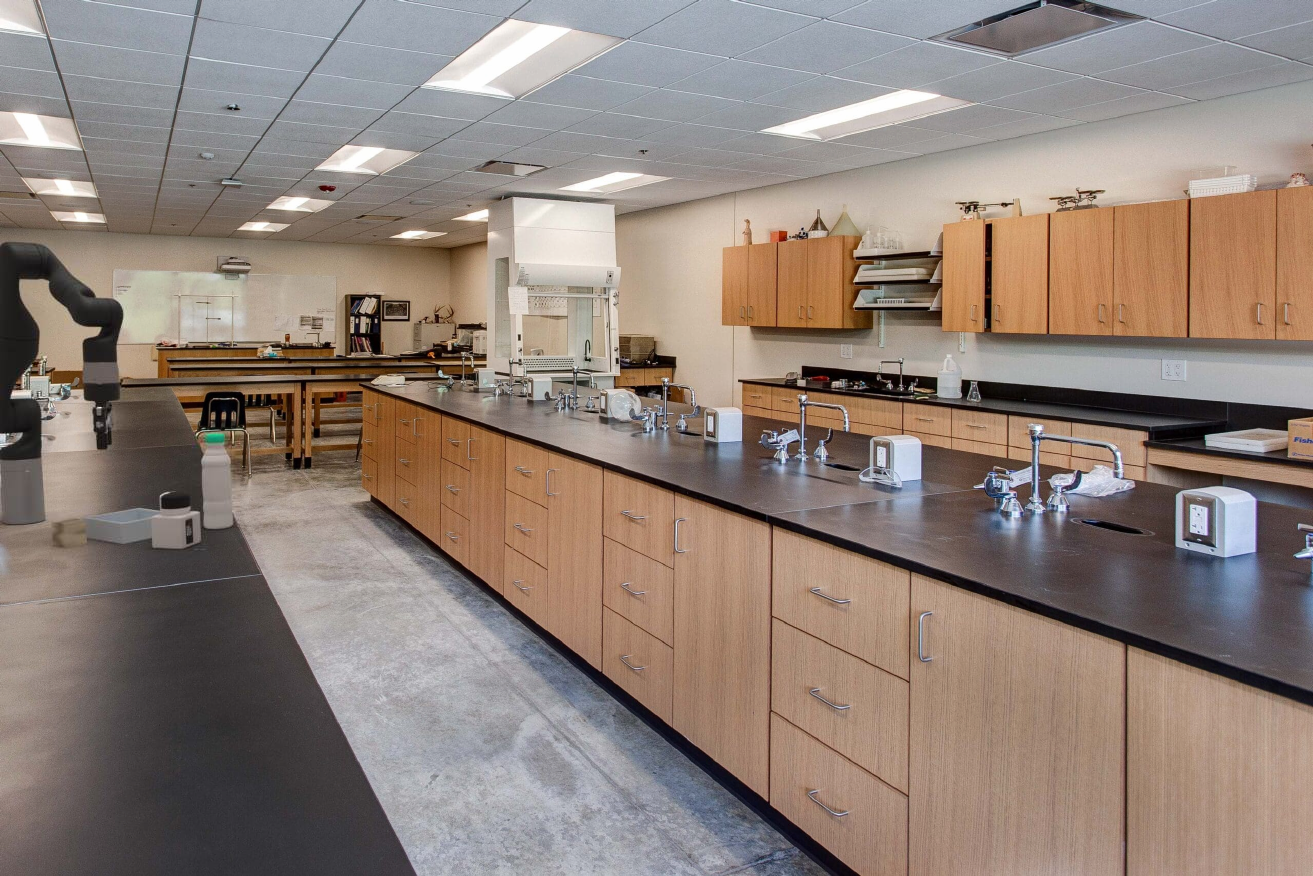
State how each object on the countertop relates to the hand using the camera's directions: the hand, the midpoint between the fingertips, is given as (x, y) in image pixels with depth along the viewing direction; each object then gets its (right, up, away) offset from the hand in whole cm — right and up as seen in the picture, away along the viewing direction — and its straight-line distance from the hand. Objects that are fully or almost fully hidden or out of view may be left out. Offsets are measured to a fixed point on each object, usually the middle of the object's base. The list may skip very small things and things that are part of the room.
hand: (104, 447), depth 218 cm
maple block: (-7, -24, -2) cm, 25 cm away
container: (+18, -24, -1) cm, 30 cm away
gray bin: (+1, -22, +9) cm, 24 cm away
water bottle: (+18, -22, +20) cm, 35 cm away
